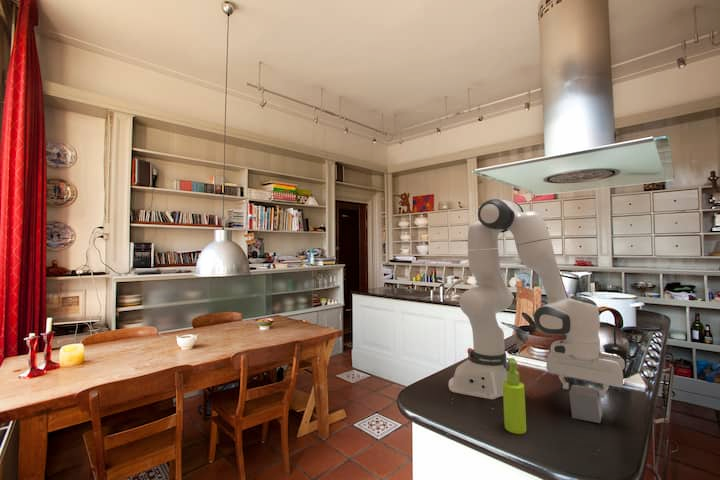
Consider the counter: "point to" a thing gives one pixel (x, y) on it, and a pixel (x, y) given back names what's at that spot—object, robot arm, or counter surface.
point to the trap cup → (585, 403)
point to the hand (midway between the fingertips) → (583, 392)
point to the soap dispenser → (514, 401)
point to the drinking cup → (617, 351)
